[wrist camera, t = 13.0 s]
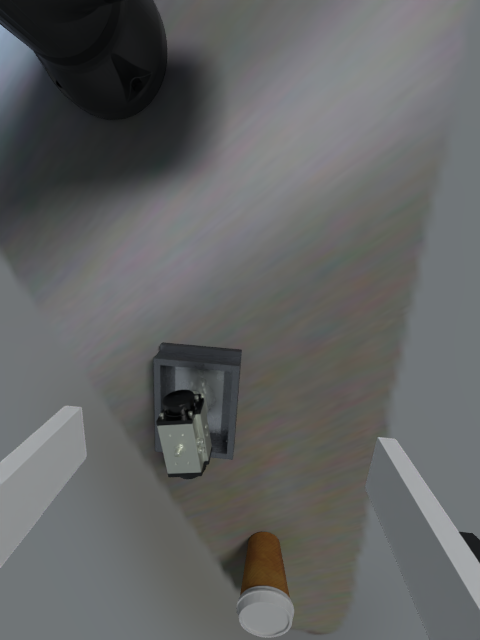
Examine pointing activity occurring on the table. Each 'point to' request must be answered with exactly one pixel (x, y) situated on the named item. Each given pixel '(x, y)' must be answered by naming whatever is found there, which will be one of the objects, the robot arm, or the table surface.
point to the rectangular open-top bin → (202, 387)
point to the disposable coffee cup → (264, 589)
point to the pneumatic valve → (185, 433)
